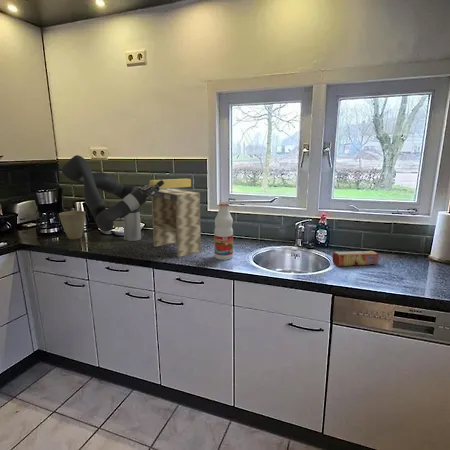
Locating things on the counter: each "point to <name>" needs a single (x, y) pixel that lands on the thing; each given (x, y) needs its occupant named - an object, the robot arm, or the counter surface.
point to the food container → (119, 222)
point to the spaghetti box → (172, 183)
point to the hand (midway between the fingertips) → (160, 181)
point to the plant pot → (73, 223)
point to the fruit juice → (223, 233)
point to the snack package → (355, 258)
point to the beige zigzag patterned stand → (177, 220)
